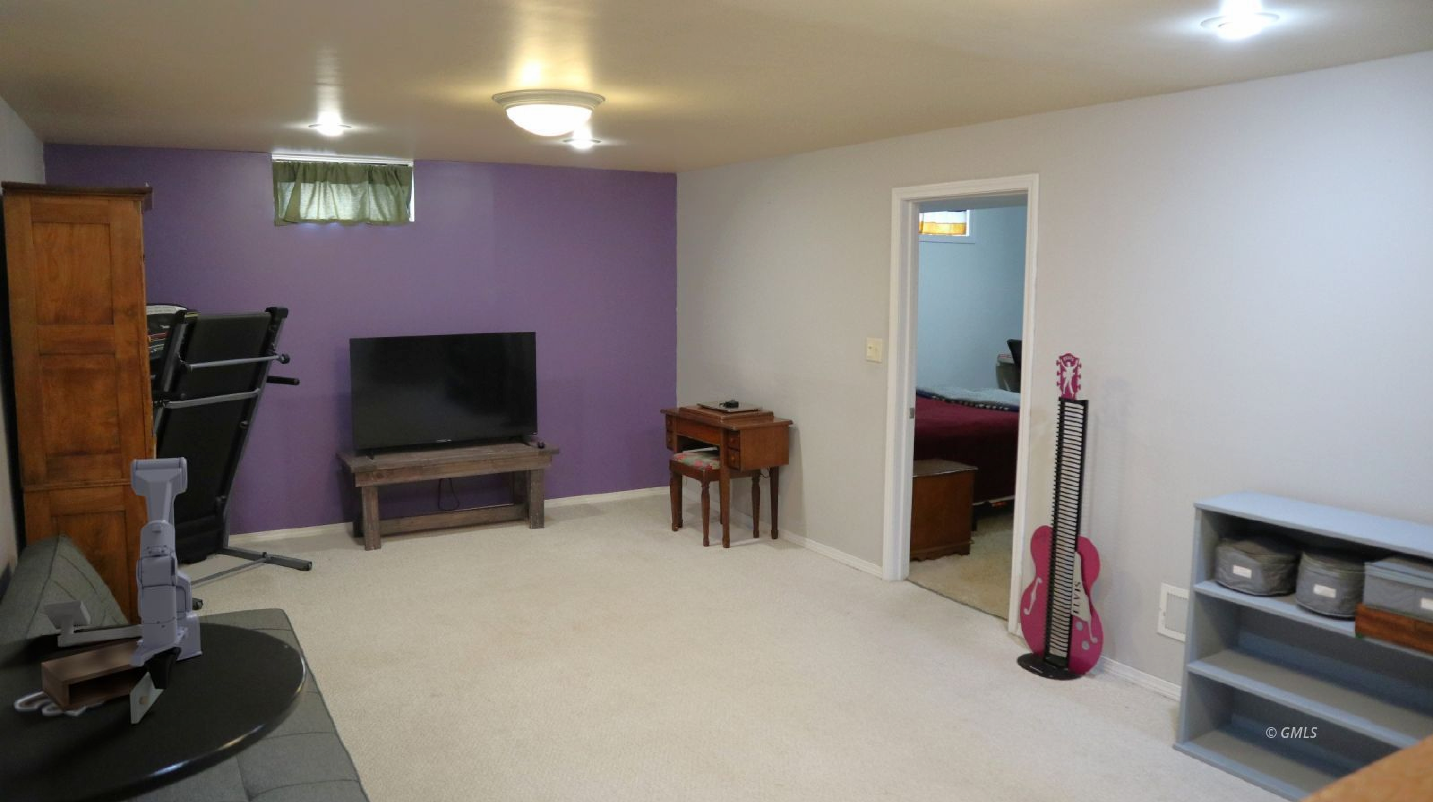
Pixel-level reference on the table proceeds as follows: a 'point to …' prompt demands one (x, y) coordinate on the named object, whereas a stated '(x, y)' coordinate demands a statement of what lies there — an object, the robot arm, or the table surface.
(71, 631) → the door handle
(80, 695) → the walnut cabinet
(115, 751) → the table surface
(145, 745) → the table surface
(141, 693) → the cabinet door
